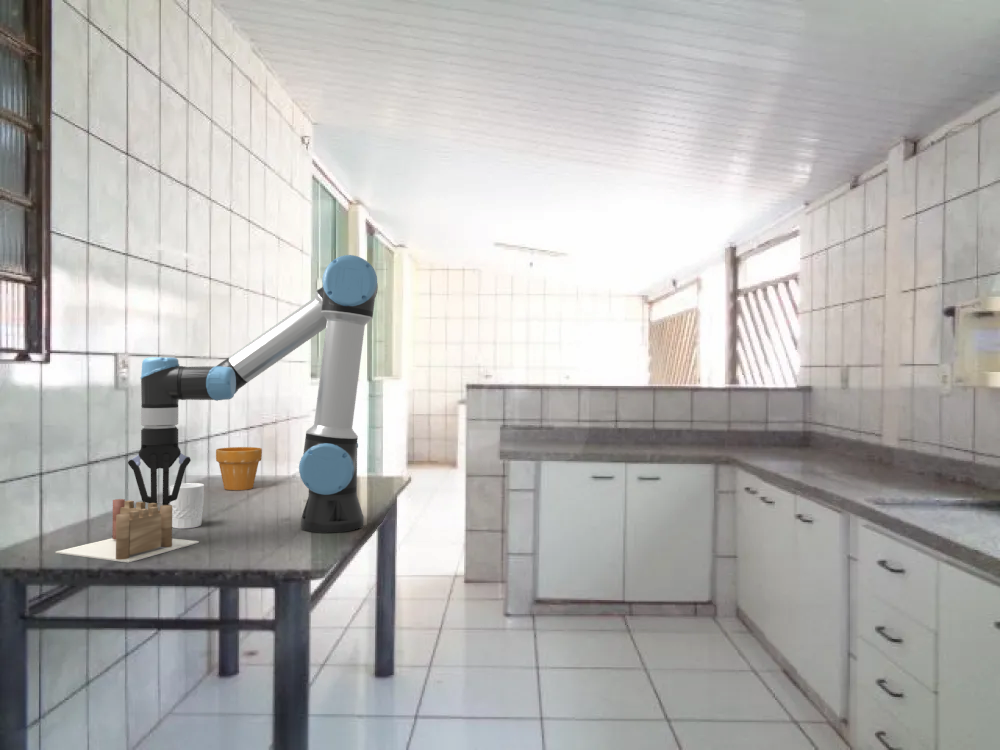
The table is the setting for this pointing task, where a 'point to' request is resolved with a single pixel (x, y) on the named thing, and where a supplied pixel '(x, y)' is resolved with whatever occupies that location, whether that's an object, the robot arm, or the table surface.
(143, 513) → the wooden castle wall
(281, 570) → the table surface
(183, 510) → the white cup
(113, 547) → the card
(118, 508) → the swing panel
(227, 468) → the flower pot
